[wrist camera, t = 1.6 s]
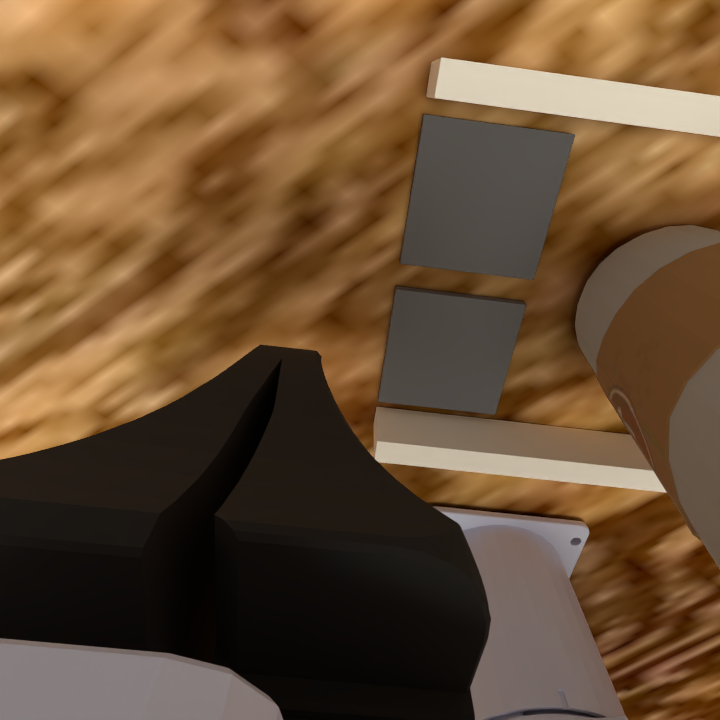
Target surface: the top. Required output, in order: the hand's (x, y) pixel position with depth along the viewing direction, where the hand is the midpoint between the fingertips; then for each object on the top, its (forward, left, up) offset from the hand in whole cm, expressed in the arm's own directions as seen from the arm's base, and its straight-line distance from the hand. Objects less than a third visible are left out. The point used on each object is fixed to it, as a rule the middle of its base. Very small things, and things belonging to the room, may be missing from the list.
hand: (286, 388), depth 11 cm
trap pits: (0, -5, -9) cm, 11 cm away
